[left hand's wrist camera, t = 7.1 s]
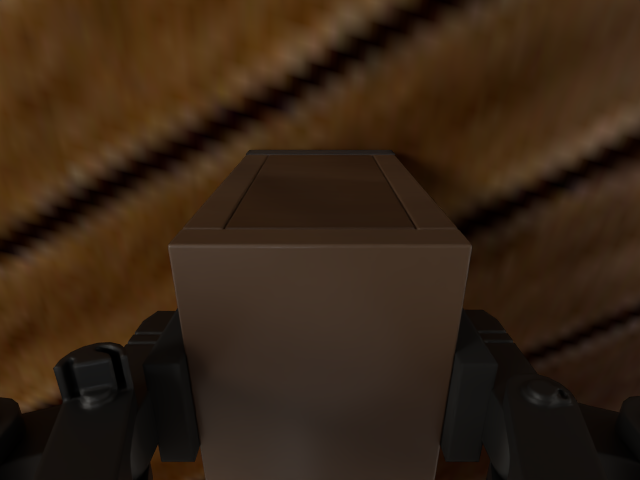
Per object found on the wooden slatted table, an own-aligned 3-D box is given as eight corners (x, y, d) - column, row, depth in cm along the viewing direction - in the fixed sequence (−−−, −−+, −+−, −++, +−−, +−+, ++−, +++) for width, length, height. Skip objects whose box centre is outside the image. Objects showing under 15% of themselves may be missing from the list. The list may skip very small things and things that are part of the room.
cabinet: (367, 505, 25) (392, 745, 16) (273, 505, 25) (247, 745, 16) (391, 150, 16) (474, 244, 7) (249, 149, 16) (165, 243, 7)
